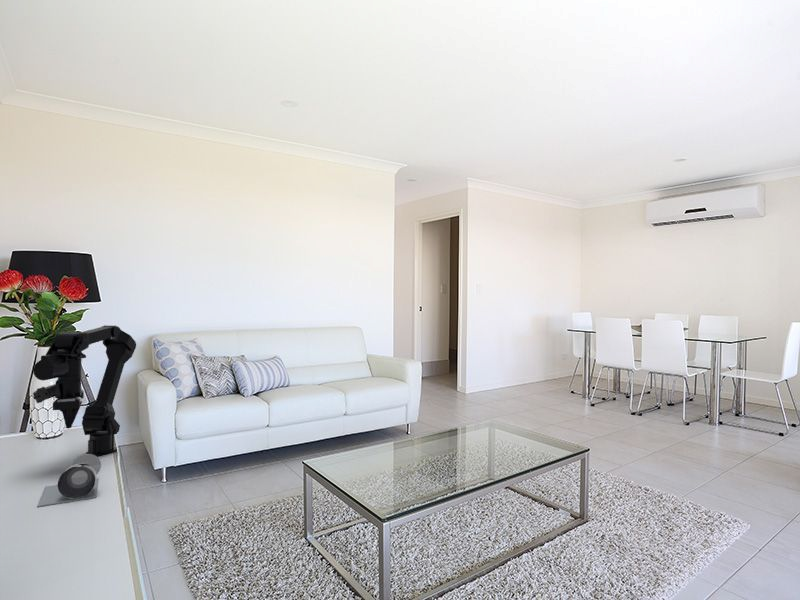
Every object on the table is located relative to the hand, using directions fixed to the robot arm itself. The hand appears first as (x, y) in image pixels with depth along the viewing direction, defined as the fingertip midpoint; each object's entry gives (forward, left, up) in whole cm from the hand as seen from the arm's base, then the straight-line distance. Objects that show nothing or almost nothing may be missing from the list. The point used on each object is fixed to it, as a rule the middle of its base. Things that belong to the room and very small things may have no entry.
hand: (68, 428), depth 141 cm
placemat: (+10, +19, -12) cm, 24 cm away
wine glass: (+3, +13, -8) cm, 16 cm away
